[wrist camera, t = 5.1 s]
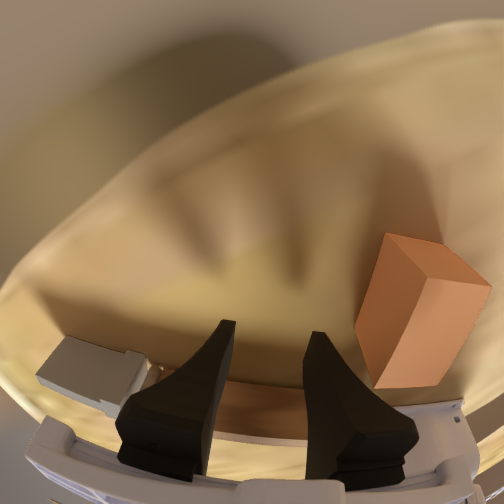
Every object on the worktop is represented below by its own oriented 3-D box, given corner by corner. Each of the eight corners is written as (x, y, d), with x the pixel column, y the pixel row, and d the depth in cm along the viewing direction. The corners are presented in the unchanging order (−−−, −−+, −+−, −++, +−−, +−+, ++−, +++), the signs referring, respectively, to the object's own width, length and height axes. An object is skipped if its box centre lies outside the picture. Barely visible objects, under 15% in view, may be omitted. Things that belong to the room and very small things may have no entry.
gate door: (343, 391, 18) (352, 439, 14) (338, 399, 18) (346, 447, 14) (149, 364, 18) (127, 409, 14) (150, 373, 18) (130, 418, 15)
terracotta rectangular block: (442, 243, 14) (492, 286, 9) (408, 330, 16) (437, 385, 12) (384, 231, 14) (427, 277, 9) (353, 326, 16) (373, 388, 12)
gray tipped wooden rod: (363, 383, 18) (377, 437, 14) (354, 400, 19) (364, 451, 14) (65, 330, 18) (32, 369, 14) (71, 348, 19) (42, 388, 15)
